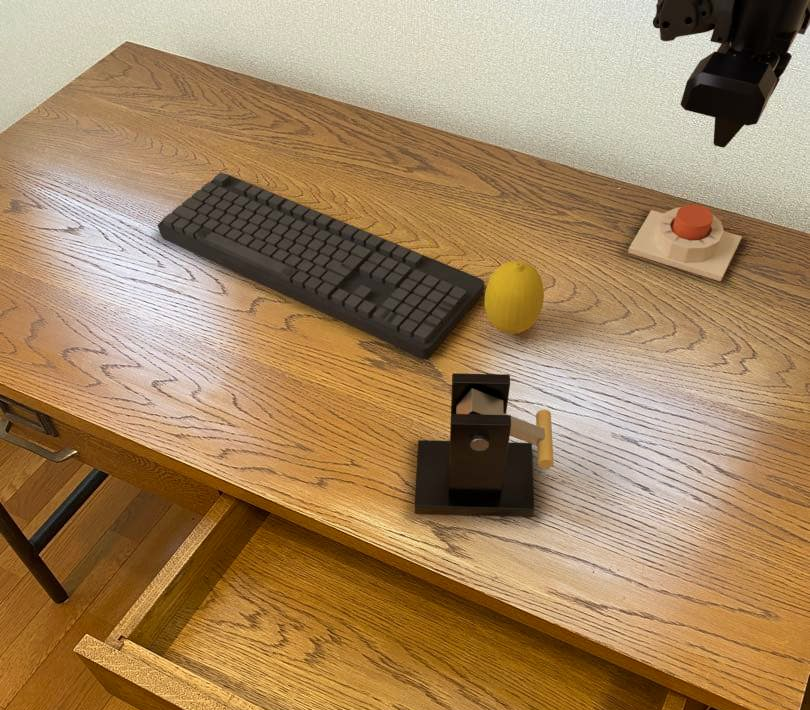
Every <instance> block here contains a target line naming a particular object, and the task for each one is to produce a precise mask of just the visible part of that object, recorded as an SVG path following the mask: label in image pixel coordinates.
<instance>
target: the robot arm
mask: <svg viewBox="0 0 810 710" xmlns="http://www.w3.org/2000/svg"><path fill="white" fill-rule="evenodd" d="M656 1H657V3H656V5H655V7H656V11H655V16H654V18H653V19H652V25H653V27H654V28H655V29H659V38H660V41H662V42H672V41H675V40H676V39H677V38H680V37H685V36H686V37H687V36H693V35H698V34H703V33H707V32H708V33H709V32H711V31H712V33H711V37H710V40H709V42H712V43H716V44H719V47H718V48H717V50H716V51H713V52H712V53H709V54H708V55H707V56H705V57H704V58H702V59H700V60H699V62H698V63H697V65H695V68H694V70H693V71H692V73H691V74H690V76H689V77H688V79H687V81H686V83H685V86H684V90H683V93H682V97H681V100H680V104H679V105H680V106H681V107H682V108H683V110H684V111H687V112H691V113H696V114H698V115H699V114H700V115H704V116H707V117H712V118H714V128H713V145H714V146H715V147H719V148H726V147H727V145H728V144H729V143H730V142H731V141H732V140H733V138H734V137H735V136H736V135H737V134H738V133H739V132H740V131H741V129H742V128H743V127H744V126H753V125H757V124H758V123H759V120H760V119H761V117H762V115H763V113H764V112H765V109H766V107H767V104H768V103H769V100H770V98H771V97H772V95H773V94H774V91H776V90H775V89H776V88H777V86H778V84H779V82H780V81H781V77H782V75H783V74H784V73H785V70H787V67H788V65H789V64H790V62H791V59H792V57H793V56H792V54H791V53H789V50H790V49H791V46H792V45H793V43H794V41H795V39H796V37H797V35H798V34H799V35H805V34H806V32H807V30H808V28H809V26H810V0H656Z"/></svg>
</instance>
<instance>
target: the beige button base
mask: <svg viewBox="0 0 810 710" xmlns="http://www.w3.org/2000/svg"><path fill="white" fill-rule="evenodd" d="M680 208H681V207H675V208H672V209H670V210H668V211H666V212H661V211H658V210H653V209H650V211H649V213H648V214H647V217H646V219H645V220H644V222H643V223H642V225H641V227H640V228H639V230H638V232H637V234H636V235H635V237H634V239H633V240H632V242H631V244H630V246H629V247H628V251H627V253H628V254H631V255H633V256H637V257H640V258H644V259H646V260H650V261H652V262H656V263H659V264H663V265H666V266H669V267H672V268H675V269H679V270H682V271H685V272H689V273H690V274H691V273H692V274H695V275H698V276H702V277H704V278H707V279H711V280H714V281H717V282H722V280H723V278H724V276H725V274H726V272H727V270H728V267H729V265H731V261H732V260H733V257H734V255H735V253H736V251H737V249H738V247H739V245H740V243H741V241H742V238H743V236H742V235H739V234H735V233H733V232H728V231H725V230H724V227H723V224H722V221H721V220H720V219H719V218H718V217H716V215H713V220H712V223H711V226H710V228H709V231H708V234H707V236H706V237H705V238H703V239H701V240H691V241H690V240H686V239H683V238H680V237H678V236H677V235H676V234H675V233H674V232H673V224H674V221H675V217H676V214H677V212H678V210H679V209H680Z"/></svg>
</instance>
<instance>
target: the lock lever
mask: <svg viewBox="0 0 810 710" xmlns="http://www.w3.org/2000/svg"><path fill="white" fill-rule="evenodd" d="M456 414H485V415H508V414H507V413H506V414H505V413H503V400H501V399H498V398H496V397H493V396H491V395H488V394H485V393H483V392H480V391H478V390H475V389H473V388H472V389H471V390H470V391H469V392H468V394H467V395H466V396H465V397H464V398H463V399H462V401H461V402H460V403H459V404H458V405H457V411H456ZM552 425H553V424H552V413H551V411H550V410H547V409H540V410H538V411H537V412H536V414H535V424H534V423H530V422H527V421H525V420H523V419H520V418H517V417H516V416H512V415H511V430H510V437H512V438H515V439H518V440H520V441H524V442H525V443H531V444H532V445H534V446H536V447H537V448H536V450H537V451H536V452H537V466H538V467H540V469H549V468H552V467H553V466H554V464H555V463H554V462H555V461H554V444H553V443H554V441H553V427H552Z"/></svg>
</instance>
